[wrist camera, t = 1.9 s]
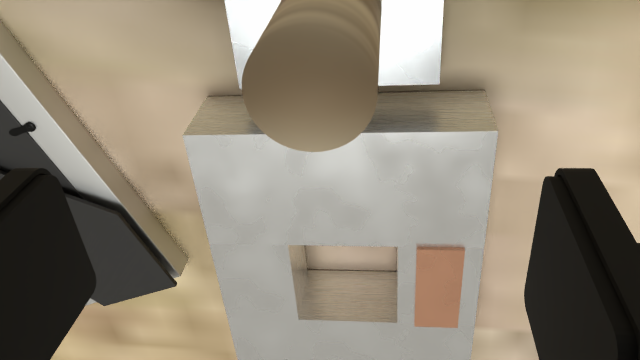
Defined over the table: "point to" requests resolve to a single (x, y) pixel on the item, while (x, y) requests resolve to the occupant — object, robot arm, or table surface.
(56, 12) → the table surface
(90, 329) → the table surface
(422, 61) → the block
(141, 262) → the picture frame
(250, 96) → the peg
